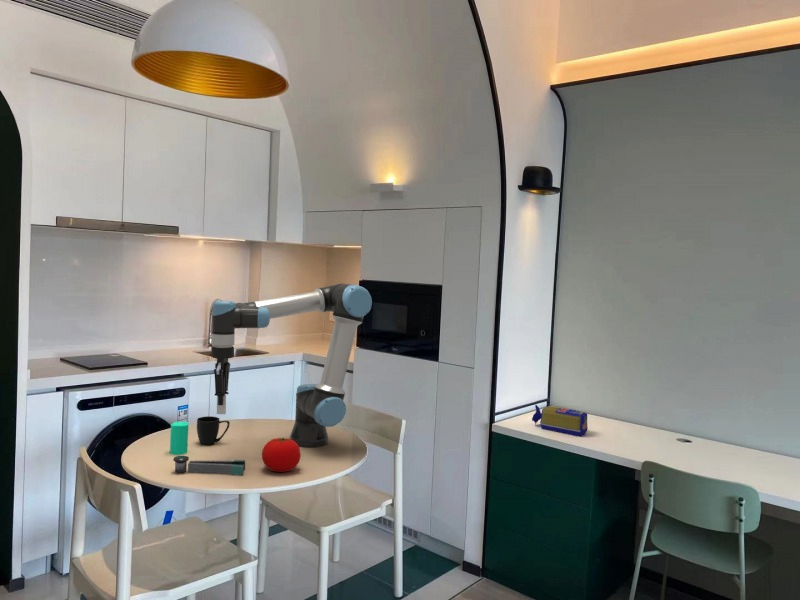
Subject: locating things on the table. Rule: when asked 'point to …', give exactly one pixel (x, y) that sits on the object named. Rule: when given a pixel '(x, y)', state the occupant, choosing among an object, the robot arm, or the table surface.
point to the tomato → (281, 454)
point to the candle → (179, 438)
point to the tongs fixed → (206, 467)
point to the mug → (209, 430)
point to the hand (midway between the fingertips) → (221, 413)
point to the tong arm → (222, 462)
